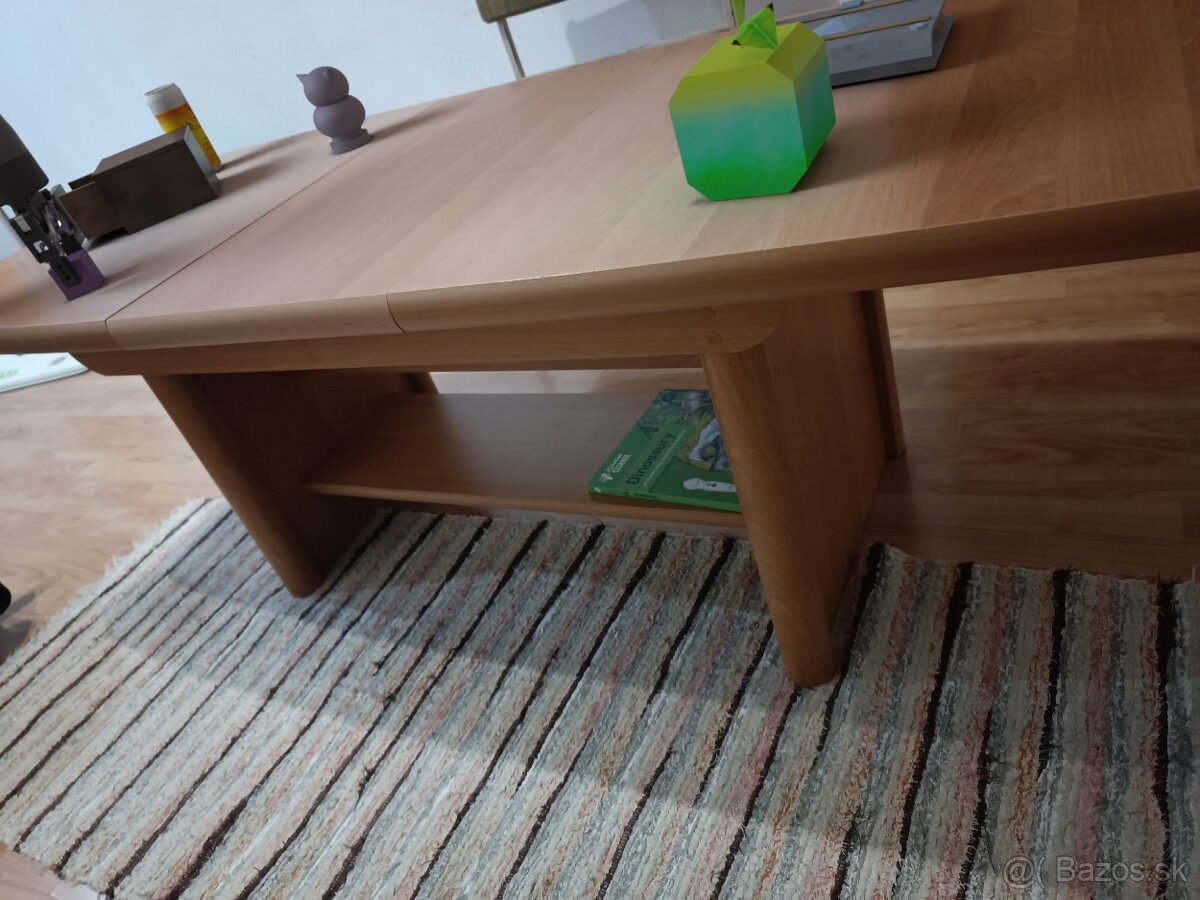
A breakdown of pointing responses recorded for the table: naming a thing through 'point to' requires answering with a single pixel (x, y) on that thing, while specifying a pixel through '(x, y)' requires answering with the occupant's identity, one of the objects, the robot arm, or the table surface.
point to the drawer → (86, 208)
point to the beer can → (179, 117)
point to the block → (86, 270)
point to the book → (879, 37)
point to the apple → (754, 109)
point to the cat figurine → (335, 108)
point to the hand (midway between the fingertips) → (80, 275)
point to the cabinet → (156, 179)
